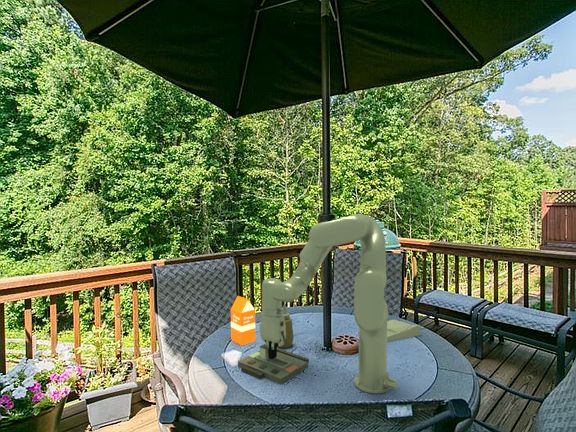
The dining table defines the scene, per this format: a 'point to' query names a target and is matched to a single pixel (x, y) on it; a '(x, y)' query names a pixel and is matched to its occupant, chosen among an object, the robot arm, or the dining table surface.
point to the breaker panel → (275, 366)
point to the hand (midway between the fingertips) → (272, 357)
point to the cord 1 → (252, 372)
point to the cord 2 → (293, 355)
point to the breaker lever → (264, 352)
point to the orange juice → (242, 321)
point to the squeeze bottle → (287, 329)
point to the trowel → (401, 330)
